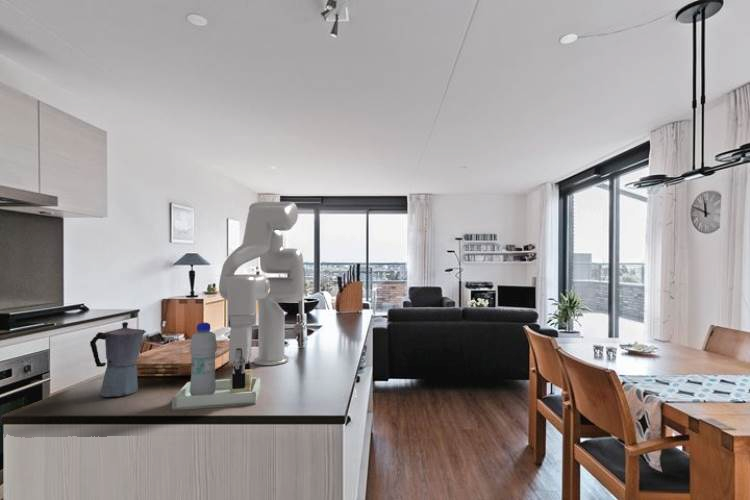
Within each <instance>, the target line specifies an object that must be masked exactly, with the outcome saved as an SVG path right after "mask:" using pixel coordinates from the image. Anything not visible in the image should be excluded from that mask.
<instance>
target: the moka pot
mask: <svg viewBox="0 0 750 500" xmlns="http://www.w3.org/2000/svg"><path fill="white" fill-rule="evenodd" d="M128 325H129V322H127V321H124V322H122V323H121V326H122V327H121V328H117V329H113V330H110V331H109V330H108V331H105V332H100V331H99V332H97V333H96V334H95V336H94V337H93V338H92V339H91V340H90V341H89V346H90V348H91V351H92V356H93V359H94V362H95V365H96V367H97V368H99V367H101V368H102V367H106V368H105V371H104V376H103V380H102V385H101V387H100V392H99V395H100V396H102V397H103V398H113V397H114V398H116V397H117V398H118V397H123V396H128V395H132V394H136V393H137V392H138V390H139V385H138V383H139V382H138V381H139V380H138V369H137V368H138V365H137V362H138V358H139V356H140V351H141V347H142V341H143V337H144V335H145V333H147V331H146V329H139V328H137V329H136V328H130V327H128ZM98 340H104V341H105V345H104V346H105V359H106V362H101V360H100V357H99V352H98V347H97V346H98V345H97V344H96V343H97V341H98Z"/></svg>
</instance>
